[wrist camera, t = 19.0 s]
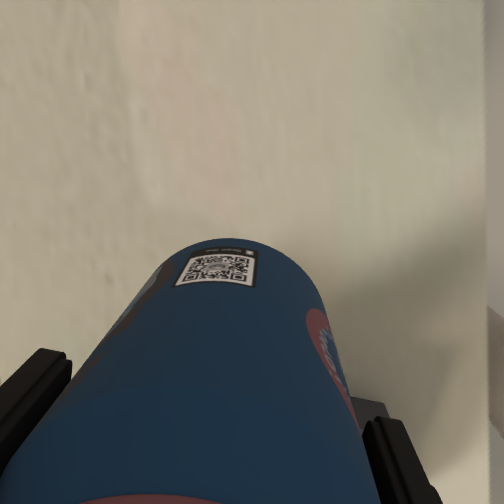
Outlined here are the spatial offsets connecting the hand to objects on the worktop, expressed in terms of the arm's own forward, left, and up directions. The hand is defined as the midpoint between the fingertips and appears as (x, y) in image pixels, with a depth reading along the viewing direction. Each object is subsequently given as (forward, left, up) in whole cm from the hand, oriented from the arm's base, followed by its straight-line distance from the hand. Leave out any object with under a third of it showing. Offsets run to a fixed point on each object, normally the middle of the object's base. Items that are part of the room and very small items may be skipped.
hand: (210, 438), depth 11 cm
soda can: (0, 0, -7) cm, 7 cm away
